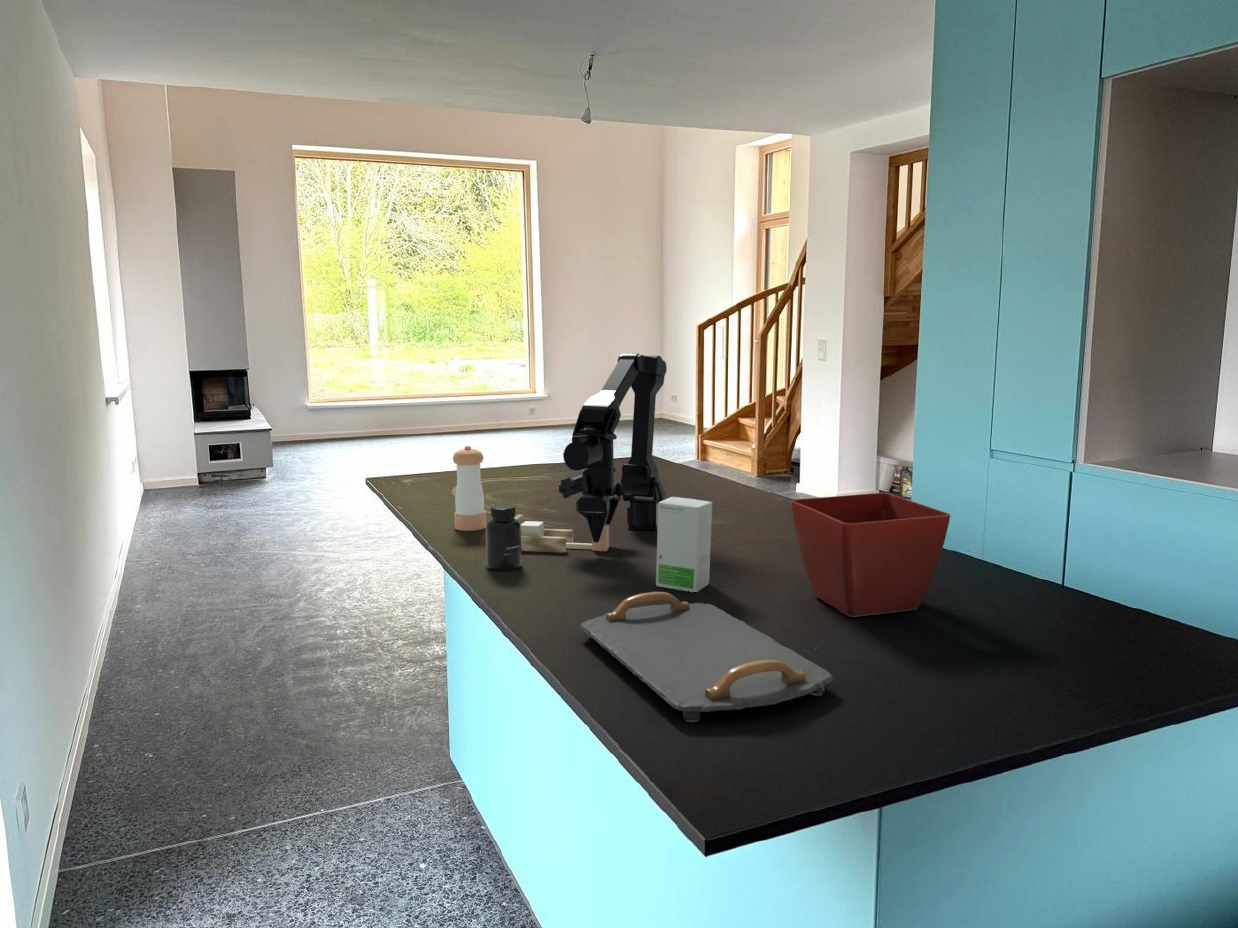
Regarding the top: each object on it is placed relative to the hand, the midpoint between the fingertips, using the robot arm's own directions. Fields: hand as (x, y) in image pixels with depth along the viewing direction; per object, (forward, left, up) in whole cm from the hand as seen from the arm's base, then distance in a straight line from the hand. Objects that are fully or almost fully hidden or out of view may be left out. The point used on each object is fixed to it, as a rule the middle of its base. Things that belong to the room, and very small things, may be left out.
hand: (600, 536), depth 185 cm
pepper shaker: (+34, -15, -3) cm, 37 cm away
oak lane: (+12, 0, -3) cm, 13 cm away
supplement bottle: (+16, +16, -3) cm, 23 cm away
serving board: (-26, +59, -3) cm, 65 cm away
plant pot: (-51, +29, -3) cm, 59 cm away
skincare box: (-20, +23, -3) cm, 31 cm away
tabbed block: (+8, 0, -3) cm, 8 cm away
